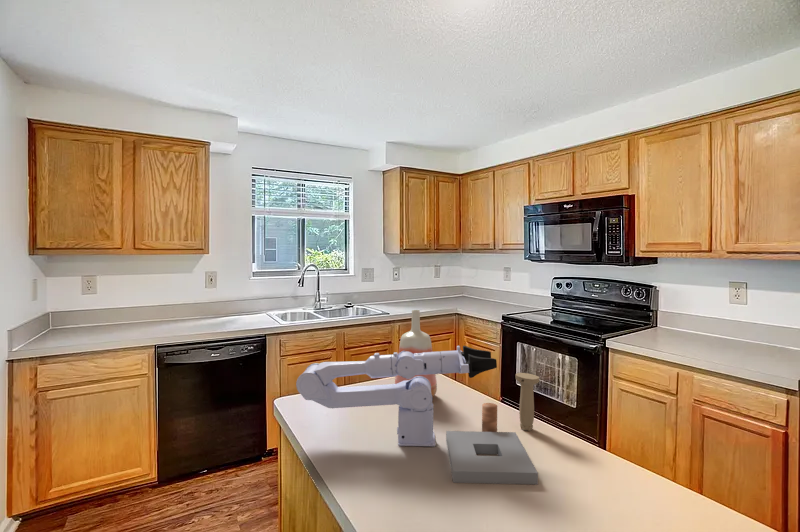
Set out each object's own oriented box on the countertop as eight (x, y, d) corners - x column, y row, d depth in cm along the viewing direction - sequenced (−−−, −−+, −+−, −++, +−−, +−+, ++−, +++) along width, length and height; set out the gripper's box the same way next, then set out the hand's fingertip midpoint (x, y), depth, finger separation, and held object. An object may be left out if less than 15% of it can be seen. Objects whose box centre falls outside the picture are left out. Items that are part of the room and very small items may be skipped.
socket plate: (453, 482, 90) (453, 471, 90) (446, 440, 110) (446, 431, 110) (537, 484, 89) (537, 472, 89) (515, 441, 109) (515, 432, 109)
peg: (483, 437, 112) (483, 408, 111) (480, 431, 116) (481, 402, 115) (498, 438, 111) (498, 408, 111) (495, 431, 115) (495, 402, 115)
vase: (390, 391, 147) (390, 308, 146) (429, 388, 151) (429, 306, 150) (399, 406, 133) (400, 314, 132) (442, 403, 137) (443, 312, 136)
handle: (532, 435, 113) (533, 380, 113) (511, 427, 118) (512, 375, 117) (541, 430, 116) (542, 376, 116) (520, 423, 121) (521, 371, 121)
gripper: (442, 354, 102) (498, 350, 101) (438, 341, 116) (487, 338, 116) (443, 382, 102) (499, 379, 102) (440, 366, 117) (489, 363, 116)
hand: (493, 359), depth 109 cm, fingers open, 7 cm apart
